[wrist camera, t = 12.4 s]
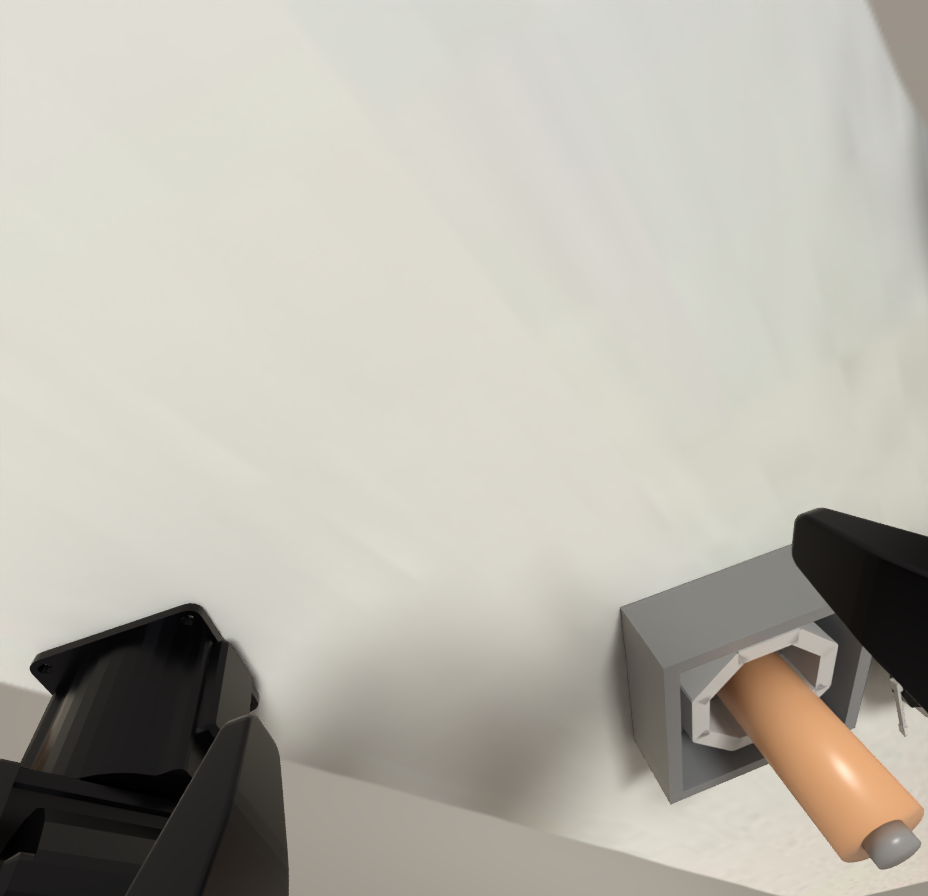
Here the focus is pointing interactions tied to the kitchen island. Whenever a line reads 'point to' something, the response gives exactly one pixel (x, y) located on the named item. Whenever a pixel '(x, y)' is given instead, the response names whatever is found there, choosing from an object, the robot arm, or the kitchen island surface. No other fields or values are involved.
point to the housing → (728, 665)
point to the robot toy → (899, 696)
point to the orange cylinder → (823, 764)
